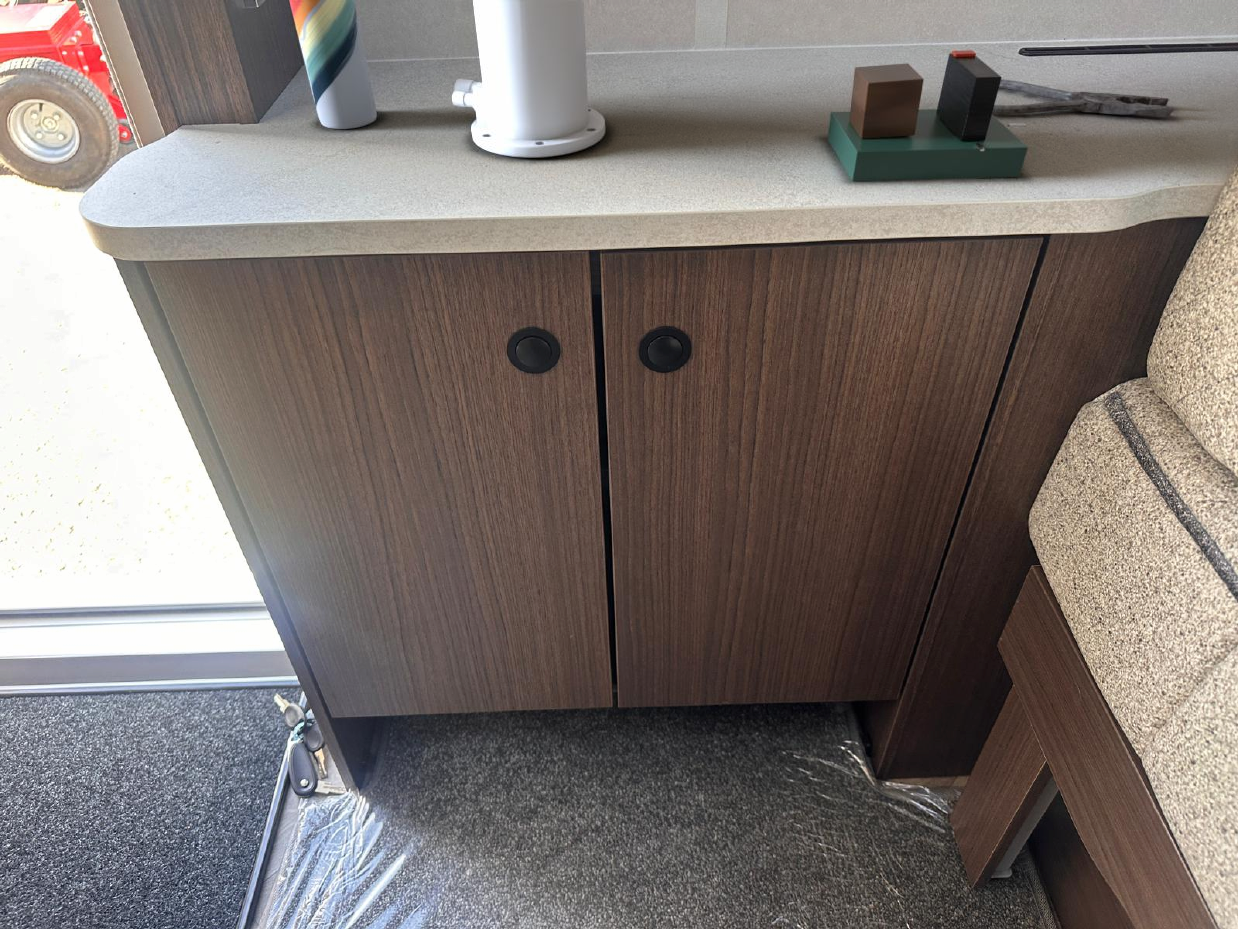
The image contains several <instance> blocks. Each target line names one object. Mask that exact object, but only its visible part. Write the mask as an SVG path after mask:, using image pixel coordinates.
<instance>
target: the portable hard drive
mask: <svg viewBox="0 0 1238 929" xmlns="http://www.w3.org/2000/svg"><path fill="white" fill-rule="evenodd" d="M1001 79H1002V76H1001V75H1000V74H998V73H997V72H996V71H995V70H994V69H992V68H991V67H990V66H989V65H987V63H985V62H984V61H983V60H981V59H980V58H979V57H978V56H977V53H976V52H975V51H973V49H971V50H970V49H969V50H951V53H948V58H947V62H946V67H945V72H944V76H943V81H942V85H941V89H940V93H939V97H938V98H939V99H938V102H937V106H938V107H936V109H937V111H936V114H937V115H938V116H939V117H940V118H941V120H942V121H943V122H944V123H945V124H946V125H947V126H948V127H949V128H950V130H951V131H952V132H953V133H954V134H955V135H956V136H957V137H958V138H959V139H960V141H985V139H986V135H987V131H988V127H989V124H990V120H991V116H992V115H993V113H992V112H993V108H994V105H996V101H997V97H998V94H999V89H1000V87H999V86H1000V82H1001Z"/></svg>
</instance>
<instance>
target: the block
mask: <svg viewBox="0 0 1238 929" xmlns="http://www.w3.org/2000/svg"><path fill="white" fill-rule="evenodd" d="M924 80H925V79H924V78H923V77H922V76H921V75H920V74H919V73H918V72H917V71H916V70H915V69H914V68H913V67H912V66H911V64H909V62H908V63H895V64H882V65H879V64H878V65H867V66H856V67H854V73H853V82H852V90H851V91H852V92H851V100H850V110H849V111H850V117H849V122H850V123H851V125H852V126H853V128H854V129H855V131H856V132H857V134H858V135H859V137H860V138H861V139H871V138H884V137H898V136H912V135H915V130H916V124H917V118H918V112H919V110H920V104H921V99H922V94H923V86H924Z"/></svg>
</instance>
